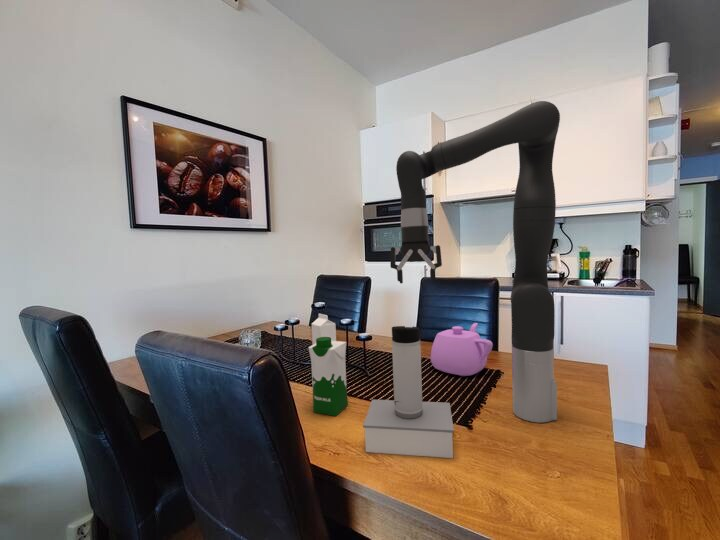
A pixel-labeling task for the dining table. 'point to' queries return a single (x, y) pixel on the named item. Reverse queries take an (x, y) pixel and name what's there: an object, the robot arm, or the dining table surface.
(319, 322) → the milk
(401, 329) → the travel mug
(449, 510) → the dining table surface
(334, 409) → the milk carton
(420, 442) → the box with lid
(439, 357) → the teapot
